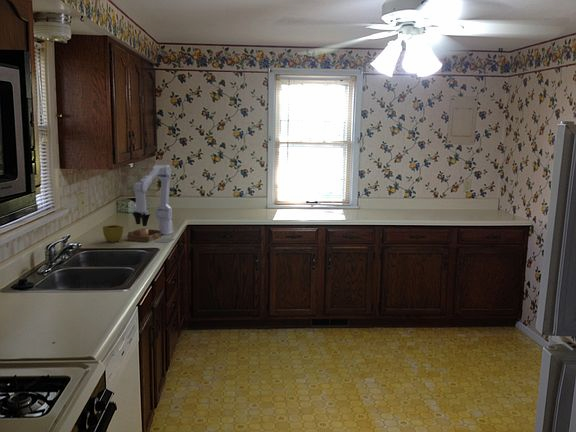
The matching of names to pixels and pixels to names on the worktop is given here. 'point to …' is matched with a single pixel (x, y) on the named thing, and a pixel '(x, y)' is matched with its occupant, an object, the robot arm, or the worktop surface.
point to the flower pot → (113, 232)
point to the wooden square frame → (151, 236)
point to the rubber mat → (164, 240)
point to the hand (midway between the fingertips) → (141, 225)
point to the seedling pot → (144, 232)
